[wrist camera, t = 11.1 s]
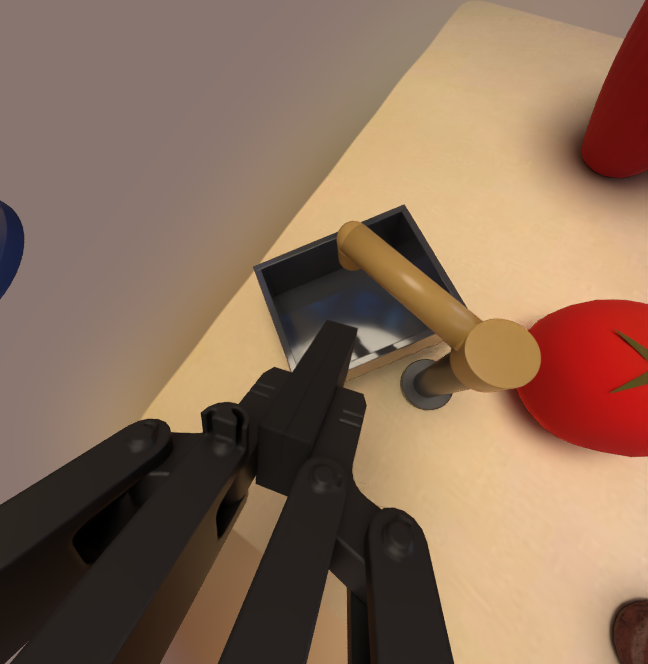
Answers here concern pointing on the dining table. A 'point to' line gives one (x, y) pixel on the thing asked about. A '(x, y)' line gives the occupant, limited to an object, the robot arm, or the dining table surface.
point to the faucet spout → (445, 315)
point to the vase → (622, 110)
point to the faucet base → (430, 383)
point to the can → (632, 634)
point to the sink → (350, 296)
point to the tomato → (593, 376)
